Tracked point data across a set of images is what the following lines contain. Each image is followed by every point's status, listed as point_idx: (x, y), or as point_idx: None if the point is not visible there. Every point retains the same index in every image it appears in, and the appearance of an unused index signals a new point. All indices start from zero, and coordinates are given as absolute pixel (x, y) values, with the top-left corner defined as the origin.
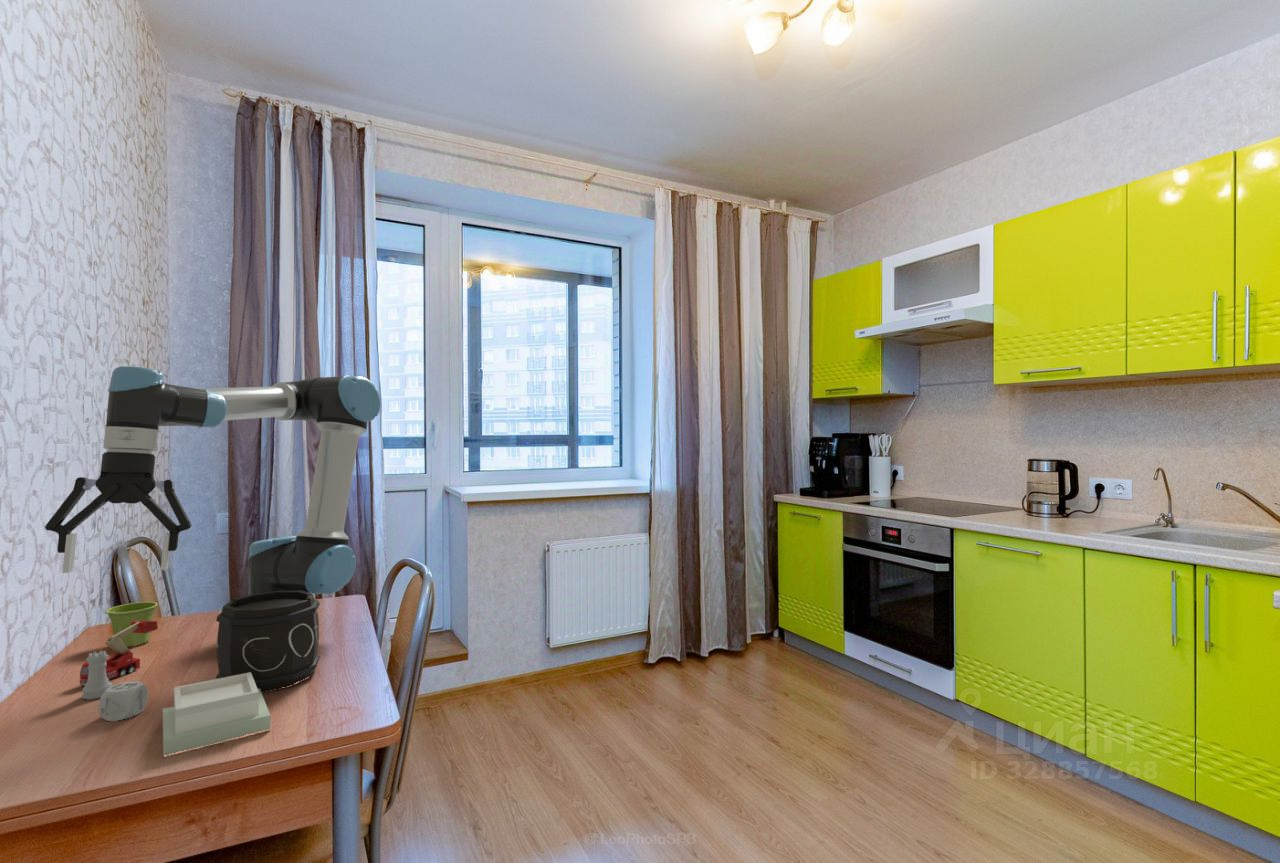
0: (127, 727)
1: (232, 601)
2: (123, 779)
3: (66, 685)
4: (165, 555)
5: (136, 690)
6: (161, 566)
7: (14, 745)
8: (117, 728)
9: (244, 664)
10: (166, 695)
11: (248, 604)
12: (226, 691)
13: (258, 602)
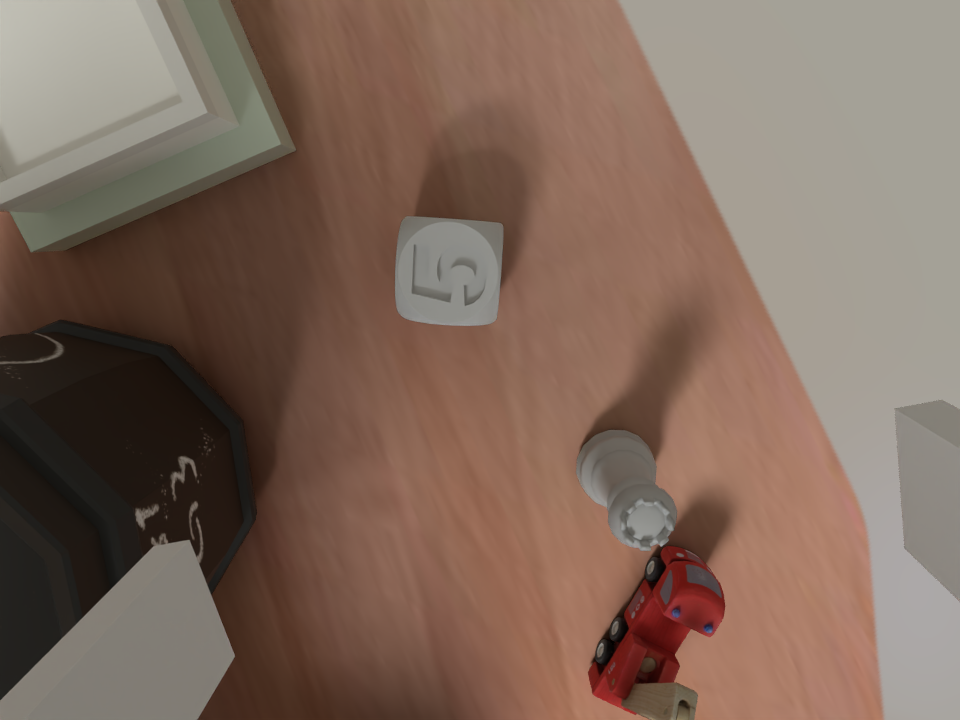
0: (394, 157)
1: None
2: None
3: (750, 583)
4: (75, 640)
5: (397, 245)
6: (168, 561)
7: (662, 111)
8: (421, 158)
9: (75, 348)
10: (395, 403)
11: None
12: (37, 93)
13: None
